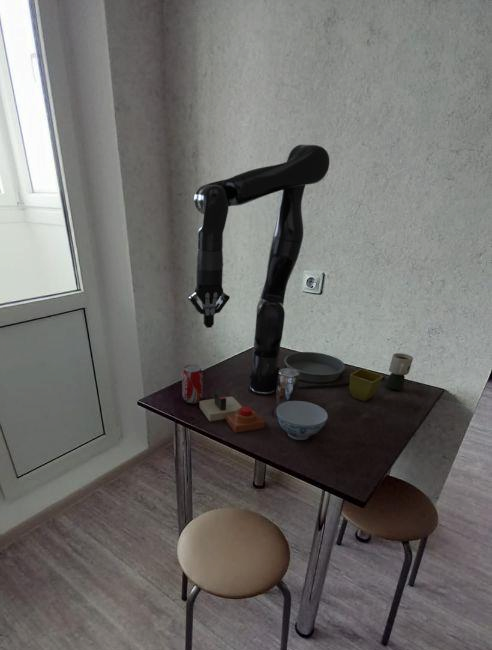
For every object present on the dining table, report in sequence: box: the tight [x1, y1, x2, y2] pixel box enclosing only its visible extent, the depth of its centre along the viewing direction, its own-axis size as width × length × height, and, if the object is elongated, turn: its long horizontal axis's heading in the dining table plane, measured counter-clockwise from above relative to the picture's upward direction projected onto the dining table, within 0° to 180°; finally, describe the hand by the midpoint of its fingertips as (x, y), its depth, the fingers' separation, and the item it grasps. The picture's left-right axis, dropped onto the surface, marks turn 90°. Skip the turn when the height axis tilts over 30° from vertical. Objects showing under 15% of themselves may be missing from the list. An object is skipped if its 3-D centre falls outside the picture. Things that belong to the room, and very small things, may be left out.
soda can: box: [181, 364, 204, 404], centre depth 137 cm, size 7×7×12 cm
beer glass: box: [273, 367, 300, 417], centre depth 130 cm, size 7×7×15 cm
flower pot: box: [348, 368, 384, 402], centre depth 145 cm, size 9×9×9 cm
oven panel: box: [199, 396, 243, 422], centre depth 133 cm, size 12×11×3 cm
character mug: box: [385, 352, 414, 391], centre depth 152 cm, size 11×7×13 cm, turn 165°
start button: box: [240, 405, 253, 416], centre depth 125 cm, size 4×4×2 cm
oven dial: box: [214, 391, 226, 411], centre depth 130 cm, size 6×2×4 cm, turn 22°
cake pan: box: [283, 351, 346, 384], centre depth 165 cm, size 25×25×4 cm
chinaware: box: [276, 400, 328, 441], centre depth 121 cm, size 15×15×8 cm
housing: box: [225, 409, 266, 433], centre depth 126 cm, size 10×8×4 cm
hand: (208, 326), depth 124 cm, fingers closed
